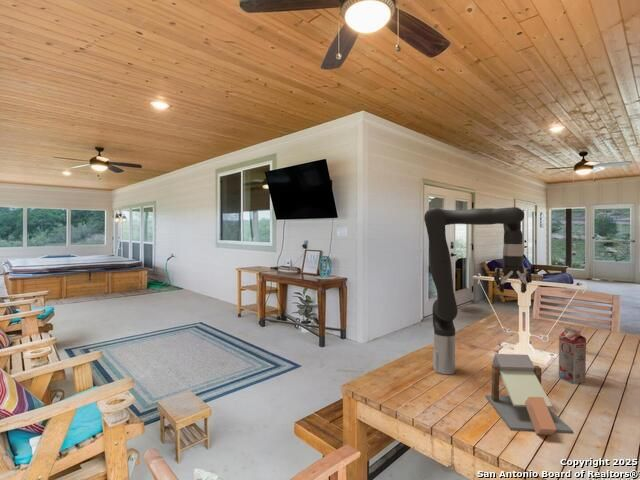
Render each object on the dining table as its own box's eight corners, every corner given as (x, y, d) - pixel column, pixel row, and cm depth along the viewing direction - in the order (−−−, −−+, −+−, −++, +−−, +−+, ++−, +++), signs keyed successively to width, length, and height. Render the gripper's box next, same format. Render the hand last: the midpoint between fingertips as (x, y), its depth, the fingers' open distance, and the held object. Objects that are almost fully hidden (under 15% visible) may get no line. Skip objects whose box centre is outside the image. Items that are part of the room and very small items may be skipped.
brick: (524, 402, 117) (536, 434, 109) (528, 396, 114) (541, 428, 106) (538, 403, 116) (551, 435, 109) (543, 397, 114) (556, 429, 106)
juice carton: (573, 383, 144) (574, 332, 143) (558, 377, 150) (559, 327, 150) (585, 381, 146) (586, 330, 145) (570, 375, 152) (571, 326, 151)
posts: (493, 403, 128) (494, 366, 128) (491, 400, 131) (491, 364, 130) (541, 405, 127) (541, 368, 126) (537, 402, 129) (538, 365, 129)
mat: (510, 429, 112) (510, 427, 112) (485, 396, 134) (485, 394, 134) (573, 433, 110) (573, 430, 110) (537, 399, 132) (537, 396, 132)
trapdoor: (492, 362, 135) (495, 353, 133) (524, 363, 134) (527, 354, 132) (512, 409, 118) (515, 400, 116) (549, 411, 117) (553, 402, 114)
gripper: (498, 255, 143) (498, 294, 144) (535, 255, 142) (534, 294, 142) (491, 253, 150) (491, 290, 151) (526, 253, 149) (525, 291, 150)
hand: (512, 292), depth 147 cm, fingers open, 8 cm apart
